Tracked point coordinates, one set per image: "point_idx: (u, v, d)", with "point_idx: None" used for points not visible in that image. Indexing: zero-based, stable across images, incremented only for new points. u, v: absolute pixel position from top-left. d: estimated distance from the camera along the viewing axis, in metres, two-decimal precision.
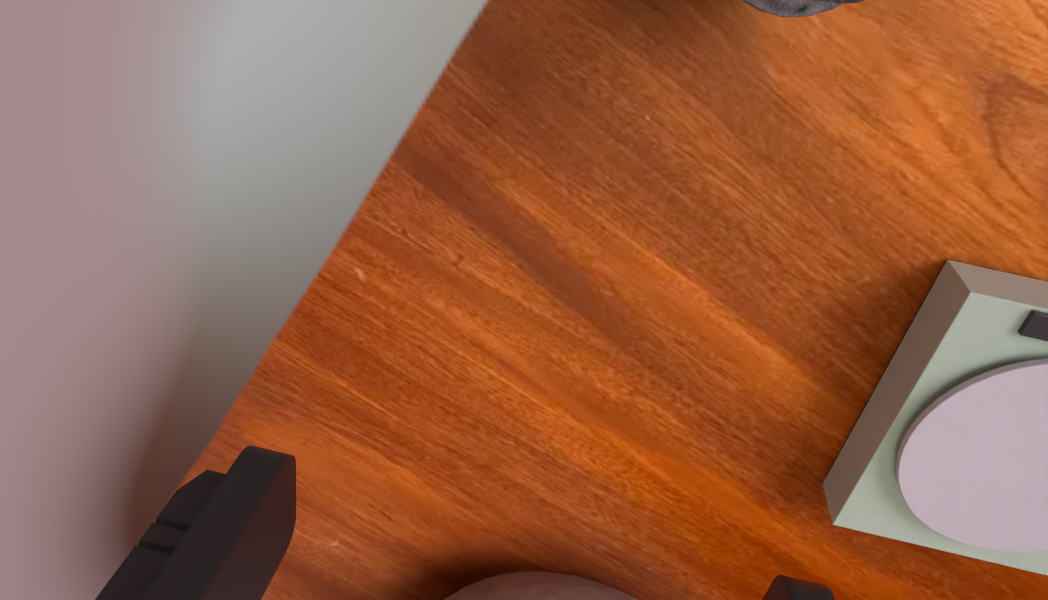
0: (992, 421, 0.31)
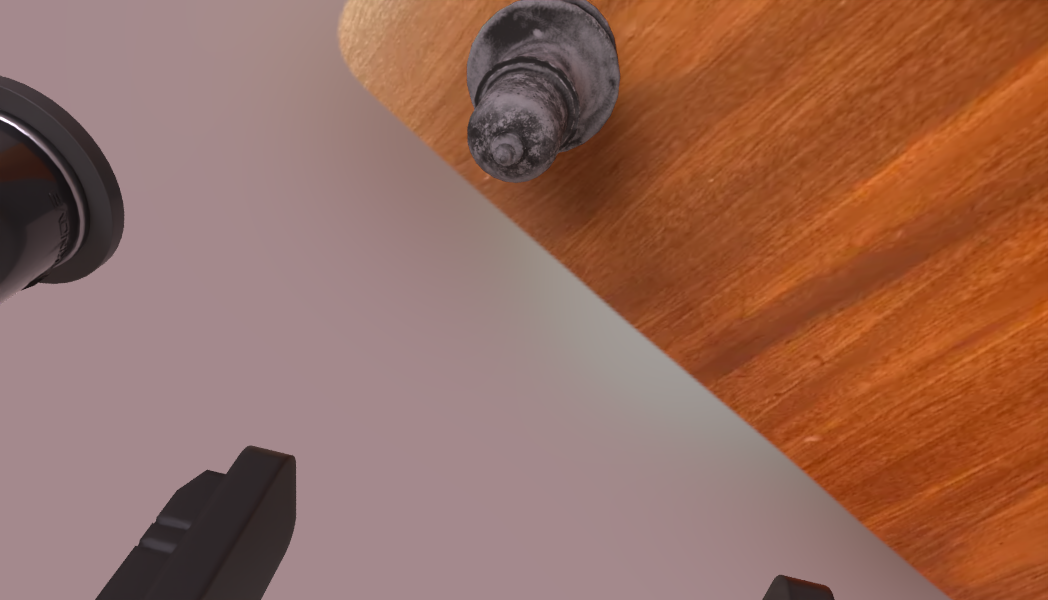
0: None
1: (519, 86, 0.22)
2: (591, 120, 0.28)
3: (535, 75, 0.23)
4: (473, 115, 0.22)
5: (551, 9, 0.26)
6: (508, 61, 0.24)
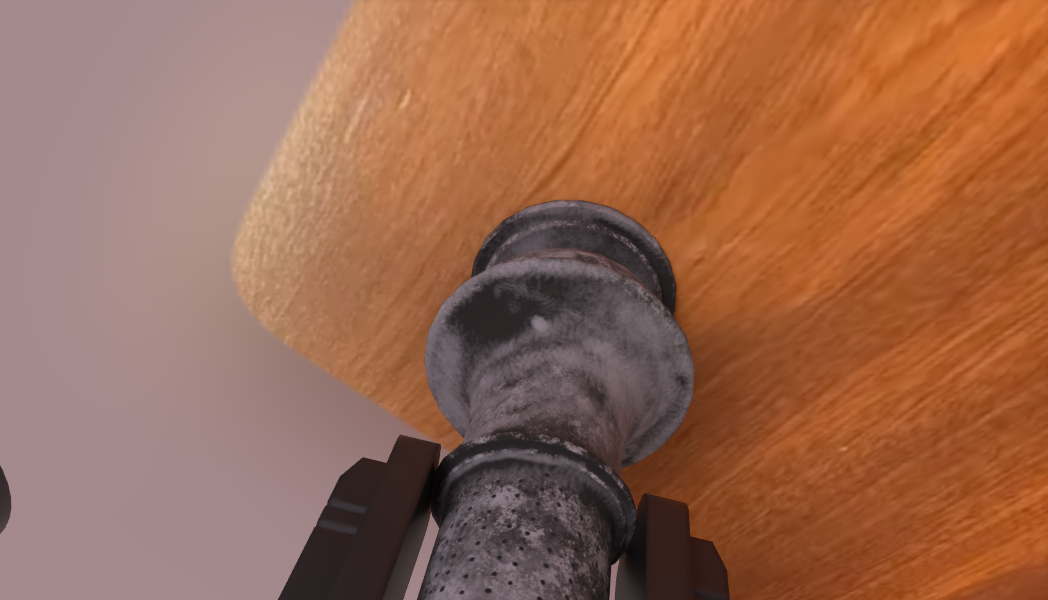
0: None
1: (505, 562, 0.10)
2: (648, 436, 0.16)
3: (540, 486, 0.11)
4: None
5: (560, 278, 0.14)
6: (484, 445, 0.12)
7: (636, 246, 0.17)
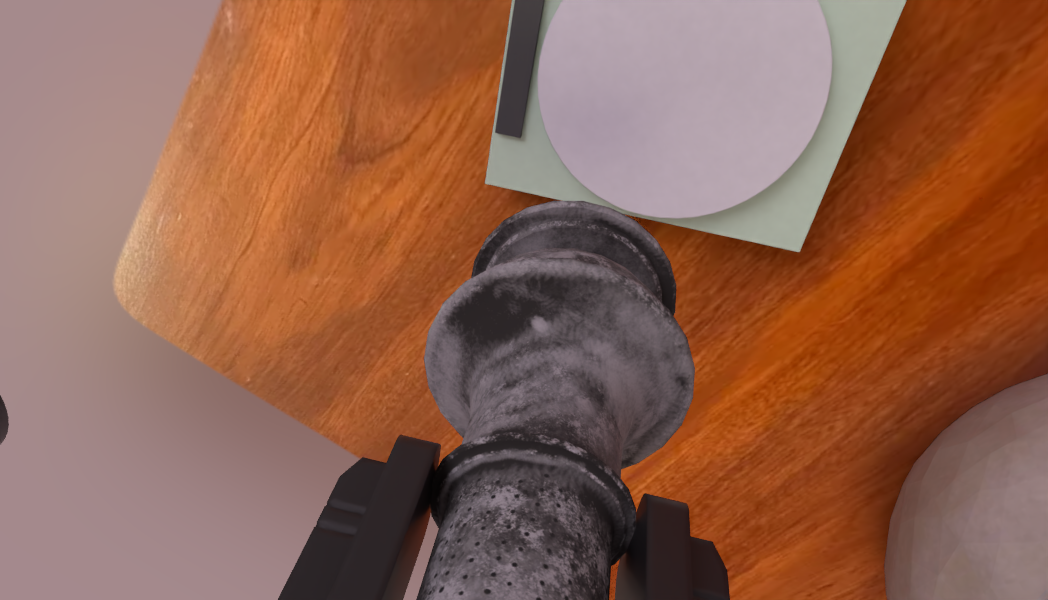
0: (618, 146, 0.30)
1: (505, 563, 0.10)
2: (648, 436, 0.16)
3: (540, 486, 0.11)
4: None
5: (560, 278, 0.14)
6: (484, 446, 0.12)
7: (636, 247, 0.17)
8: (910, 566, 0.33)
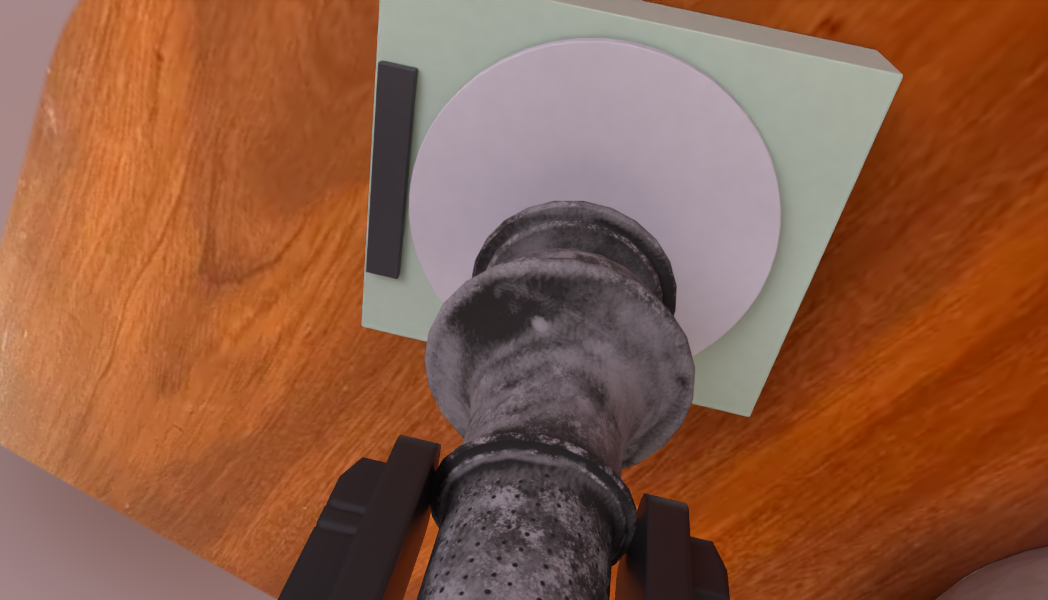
0: None
1: (505, 563, 0.10)
2: (649, 437, 0.16)
3: (540, 486, 0.11)
4: None
5: (560, 278, 0.14)
6: (484, 446, 0.12)
7: (637, 246, 0.17)
8: None
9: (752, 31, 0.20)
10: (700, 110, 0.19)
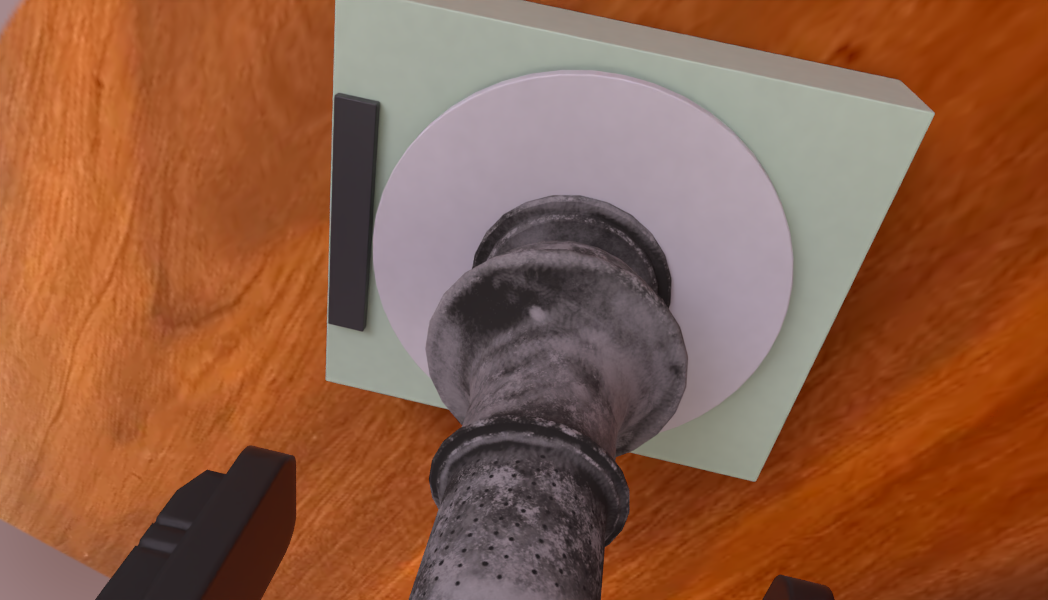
0: None
1: (502, 537, 0.11)
2: (643, 424, 0.16)
3: (536, 466, 0.12)
4: None
5: (557, 269, 0.15)
6: (482, 428, 0.12)
7: (632, 240, 0.18)
8: None
9: (760, 60, 0.18)
10: (701, 152, 0.17)
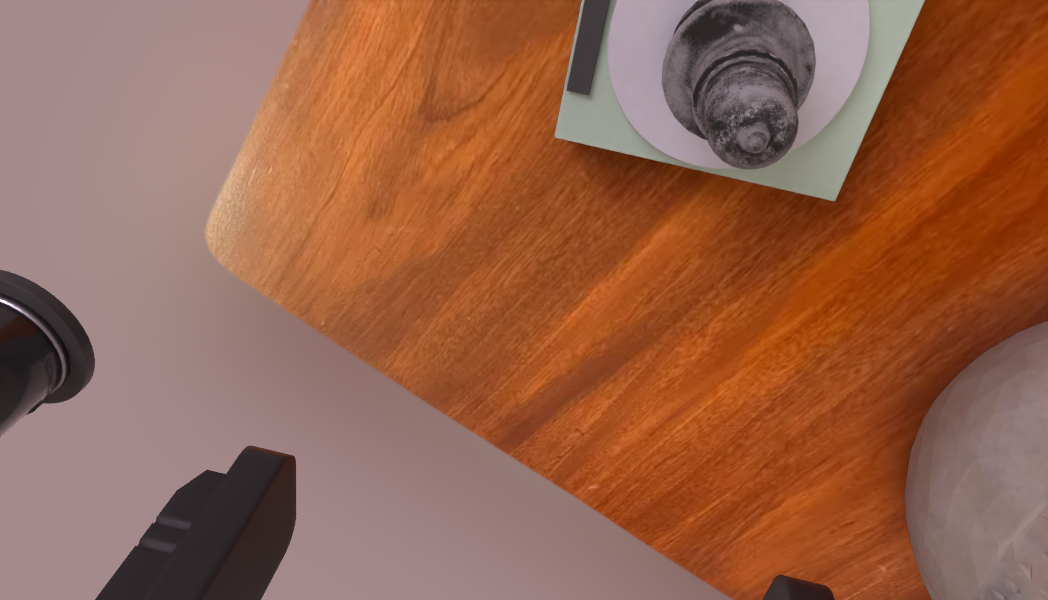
0: None
1: (755, 78, 0.23)
2: None
3: (760, 67, 0.24)
4: (715, 109, 0.23)
5: (749, 4, 0.27)
6: (729, 56, 0.25)
7: None
8: (929, 485, 0.36)
9: None
10: None
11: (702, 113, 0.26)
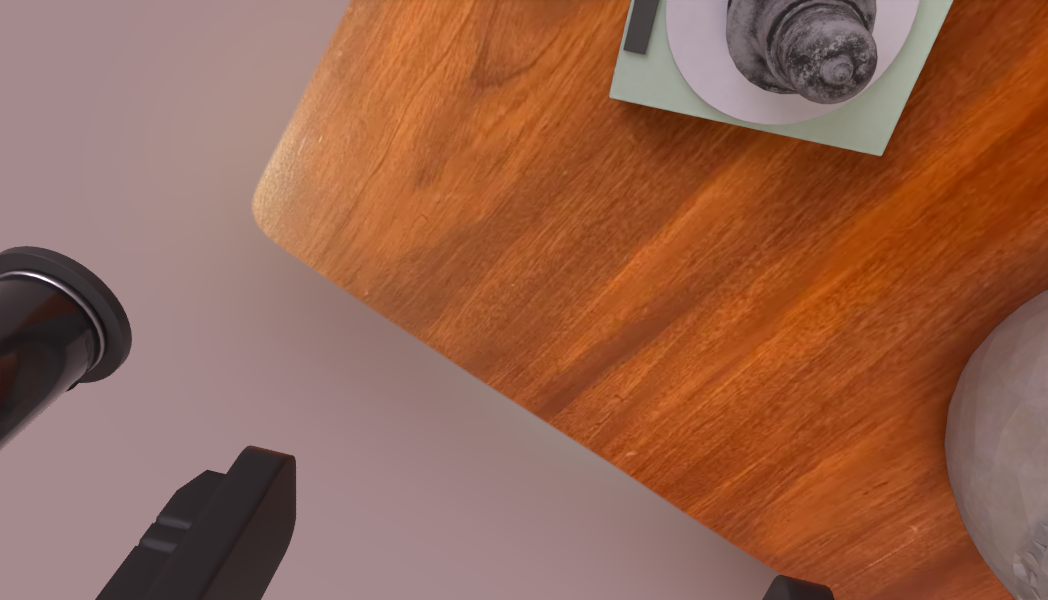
0: (731, 59, 0.35)
1: (835, 15, 0.24)
2: None
3: (835, 8, 0.26)
4: (799, 44, 0.24)
5: None
6: None
7: None
8: (974, 430, 0.38)
9: None
10: None
11: (775, 56, 0.27)
